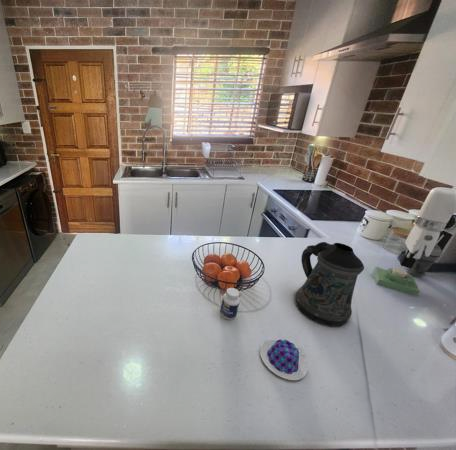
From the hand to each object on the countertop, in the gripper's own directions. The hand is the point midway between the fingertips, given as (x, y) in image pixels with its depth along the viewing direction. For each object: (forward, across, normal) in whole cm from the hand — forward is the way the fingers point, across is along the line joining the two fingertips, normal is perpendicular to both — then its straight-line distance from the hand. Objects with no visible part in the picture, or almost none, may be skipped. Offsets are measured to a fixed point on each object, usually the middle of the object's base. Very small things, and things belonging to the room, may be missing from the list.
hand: (405, 265), depth 95 cm
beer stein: (+10, -31, +27) cm, 42 cm away
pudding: (+10, -60, +34) cm, 69 cm away
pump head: (+5, 0, 0) cm, 5 cm away
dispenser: (+10, 0, +1) cm, 10 cm away
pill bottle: (+10, -52, +52) cm, 74 cm away
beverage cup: (+10, +16, -9) cm, 21 cm away
